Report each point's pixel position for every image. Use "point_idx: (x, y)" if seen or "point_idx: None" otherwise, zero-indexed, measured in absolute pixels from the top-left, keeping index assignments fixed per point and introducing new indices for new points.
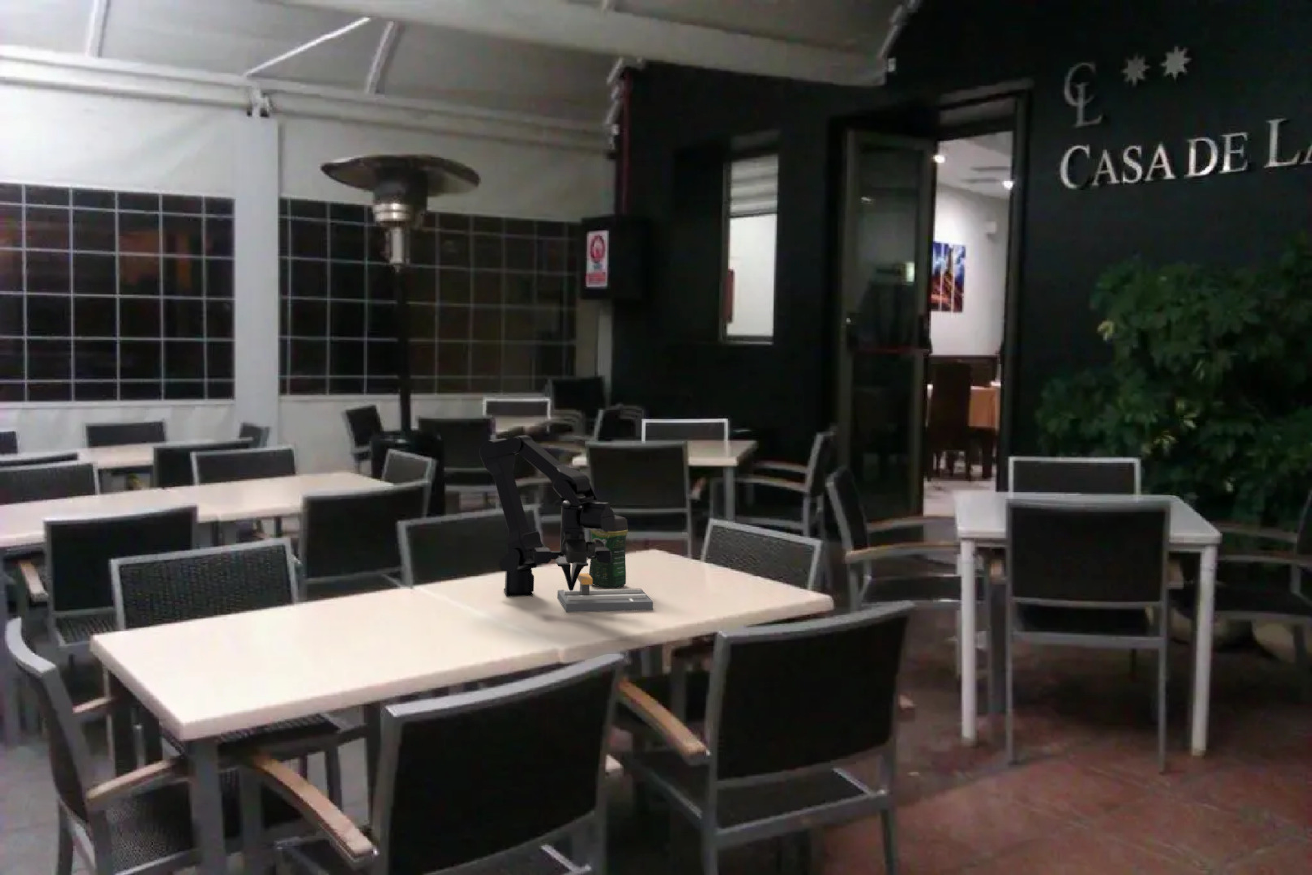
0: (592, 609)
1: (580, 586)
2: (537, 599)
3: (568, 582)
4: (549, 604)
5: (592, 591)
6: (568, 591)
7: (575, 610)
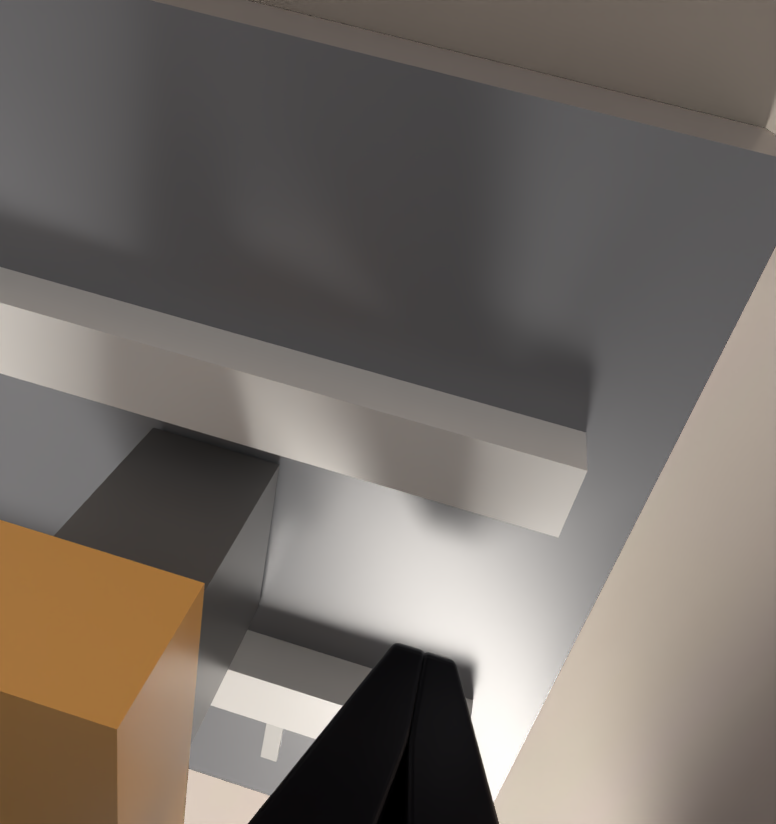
0: (238, 5)
1: (202, 696)
2: (724, 820)
3: (481, 821)
4: (724, 623)
5: None
6: None
7: (578, 87)
